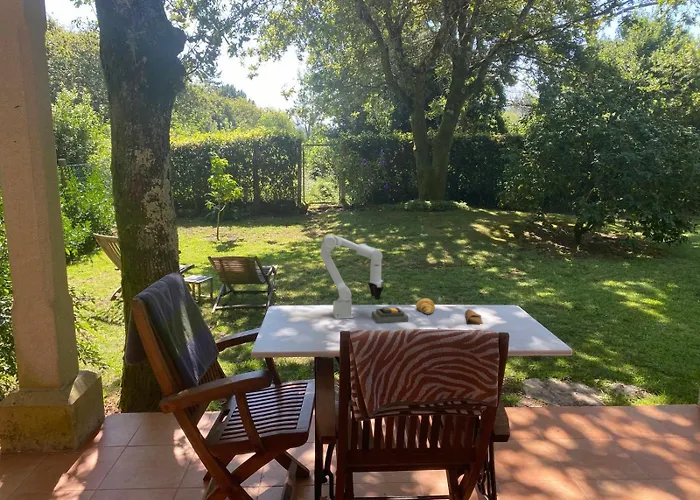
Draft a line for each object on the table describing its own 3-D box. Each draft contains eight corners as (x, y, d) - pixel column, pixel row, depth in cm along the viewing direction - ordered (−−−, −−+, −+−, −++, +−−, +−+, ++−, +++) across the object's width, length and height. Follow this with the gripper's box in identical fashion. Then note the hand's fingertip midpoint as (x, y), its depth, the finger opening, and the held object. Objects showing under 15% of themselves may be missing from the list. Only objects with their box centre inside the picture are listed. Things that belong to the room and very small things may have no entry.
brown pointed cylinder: (484, 325, 264) (477, 313, 264) (471, 331, 266) (465, 320, 265) (481, 315, 282) (475, 304, 281) (469, 321, 283) (463, 310, 283)
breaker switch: (384, 312, 269) (385, 309, 269) (382, 309, 274) (382, 307, 274) (397, 313, 271) (398, 310, 271) (394, 311, 276) (395, 308, 276)
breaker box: (377, 323, 266) (378, 314, 265) (371, 316, 277) (371, 308, 276) (408, 321, 269) (408, 313, 268) (400, 315, 281) (401, 307, 280)
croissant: (433, 321, 282) (441, 309, 281) (417, 313, 281) (425, 300, 280) (426, 310, 303) (433, 298, 302) (411, 302, 302) (418, 290, 301)
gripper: (387, 274, 269) (386, 300, 271) (379, 269, 283) (379, 294, 285) (373, 275, 267) (373, 301, 269) (366, 269, 281) (366, 294, 283)
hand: (375, 297), depth 277 cm, fingers open, 7 cm apart
